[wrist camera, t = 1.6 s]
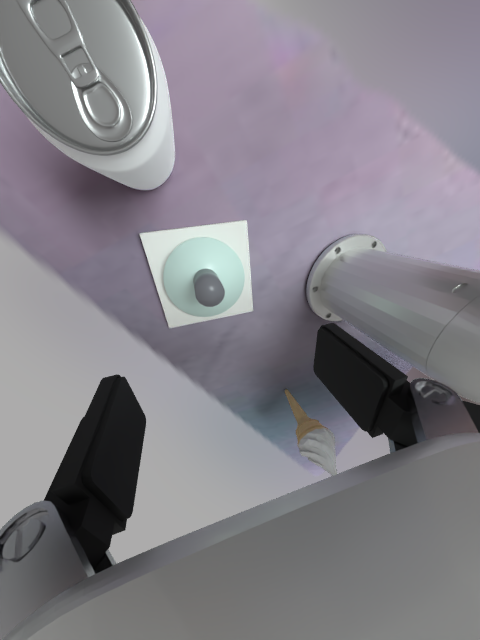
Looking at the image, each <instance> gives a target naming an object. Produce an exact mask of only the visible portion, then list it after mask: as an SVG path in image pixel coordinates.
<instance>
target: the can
mask: <svg viewBox="0 0 480 640" xmlns="http://www.w3.org/2000/svg"><path fill="white" fill-rule="evenodd" d="M0 83H1V84H2V86H3V87H4V89H5V90H6V91H7V93H8V94H9V96H10V97H11V98H12V99H13V101H14V102H15V103H16V104H17V105H18V107H19V108H20V109H21V110H22V111H23V112H24V113H25V115H26V116H27V117H28V119H29V120H30V121H31V123H32V124H33V125H34V126H35V127H36V128H37V130H38V131H39V132H40V133H41V134H42V135H43V136H44V137H45V138H46V139H47V140H48V141H49V142H51V143H52V144H53V145H54V146H55V147H57V148H58V149H59V150H60V151H62V152H63V153H64V154H66V155H67V156H69V157H70V158H72V159H73V160H75V161H77V162H79V163H80V164H82V165H84V166H86V167H88V168H90V169H92V170H94V171H96V172H98V173H100V174H102V175H104V176H106V177H109V178H111V179H113V180H115V181H117V182H119V183H121V184H124V185H126V186H128V187H131V188H134V189H138V190H152V189H155V188H157V187H159V186H160V185H162V184H163V183H164V182H165V181H166V180H167V179H168V178H169V176H170V174H171V172H172V170H173V166H174V161H175V145H174V134H173V124H172V114H171V105H170V97H169V91H168V85H167V80H166V76H165V72H164V68H163V65H162V62H161V59H160V56H159V54H158V51H157V48H156V46H155V44H154V42H153V40H152V37H151V36H150V34H149V32H148V30H147V28H146V26H145V25H144V23H143V21H142V20H141V18H140V17H139V15H138V13H137V11H136V9H135V7H134V5H133V4H132V2H131V0H0Z"/></svg>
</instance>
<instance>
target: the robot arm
mask: <svg viewBox="0 0 480 640" xmlns="http://www.w3.org/2000/svg"><path fill="white" fill-rule="evenodd" d="M306 293H307V300H308V304H309V306H310V307H311V309H312V310H313V311H314V312H315V314H317V315H318V316H320V317H321V318H323V319H325V320H328V321H341V320H344V321H346V322H347V323H349V324H350V325H352V326H353V327H355V328H356V329H358V330H359V331H361V332H362V333H364V334H365V335H367V336H368V337H370V338H371V339H373V340H374V341H376V342H377V343H379V344H380V345H382V346H383V347H385V348H386V349H388V350H389V351H391V352H392V353H394V354H395V355H397V356H398V357H400V358H401V359H403V360H404V361H406V362H407V363H409V364H410V365H412V366H413V367H415V368H417V369H418V370H419V371H421V372H423V373H424V374H425V375H427V376H428V377H430V378H432V379H434V380H431V379H426V378H418V379H414V380H413V381H412V382H411V383H409V382H408V381H407V377H408V376H406V375H405V374H404V373H402V372H401V371H399V370H398V369H397V368H395V367H394V366H393V365H391V364H390V363H388V362H387V361H386V360H384V359H383V358H381V357H380V356H379V355H377V354H376V353H374V352H373V351H372V350H370V349H369V348H368V347H366V346H365V345H363V344H362V343H361V342H359V341H358V340H356V339H355V338H354V337H352V336H351V335H349V334H348V333H347V332H345V331H344V330H343V329H341V328H340V327H338V326H337V325H336V324H334V323H330V324H326V325H322V326H321V327H320V329H319V330H318V334H317V342H316V351H315V359H314V372H315V374H316V375H317V377H318V378H319V379H320V380H321V381H322V383H323V384H324V385H325V386H326V387H327V389H328V390H329V391H330V392H331V393H332V394H333V396H334V397H335V398H336V399H337V400H338V402H339V403H340V404H341V405H342V406H343V408H344V409H345V410H346V411H347V412H348V413H349V415H350V416H351V417H352V418H353V419H354V421H355V422H356V423H357V424H358V425H359V427H360V428H361V429H362V430H364V431H367V432H368V433H369V435H370V436H371V437H372V438H373V437H376V436H378V435H381V434H383V433H384V434H385V435H386V436H387V437H388V440H389V446H390V454H387V455H385V456H382V457H380V458H377V459H375V460H372V461H369V462H367V463H365V464H362V465H359V466H357V467H354V468H352V469H349V470H346V471H344V472H341V473H339V474H336V475H334V476H331V477H329V478H326V479H324V480H321V481H319V482H316V483H314V484H311V485H308V486H306V487H304V488H301V489H298V490H296V491H293V492H291V493H288V494H286V495H283V496H281V497H279V498H276V499H273V500H271V501H268V502H266V503H263V504H261V505H258V506H256V507H253V508H251V509H249V510H246V511H244V512H241V513H238V514H236V515H233V516H231V517H229V518H226V519H223V520H221V521H219V522H216V523H214V524H211V525H209V526H206V527H204V528H201V529H199V530H196V531H194V532H192V533H189V534H187V535H184V536H182V537H179V538H176V539H174V540H172V541H169V542H167V543H165V544H163V545H160V546H158V547H155V548H153V549H150V550H148V551H146V552H143V553H141V554H139V555H136V556H134V557H132V558H129V559H127V560H125V561H122V562H120V563H118V564H116V562H115V560H114V559H113V557H112V555H111V554H110V552H109V550H108V548H109V547H110V542H111V538H112V535H114V534H116V533H119V532H121V531H124V530H125V528H126V521H127V519H128V518H130V517H131V514H132V512H133V506H134V499H135V493H136V486H137V479H138V472H139V466H140V460H141V453H142V446H143V439H144V433H145V427H146V418H145V415H144V413H143V411H142V409H141V407H140V405H139V403H138V401H137V399H136V397H135V395H134V393H133V391H132V389H131V387H130V386H129V384H128V382H127V380H126V378H125V377H121V376H120V375H114V376H109V377H105V378H103V379H102V380H101V382H100V384H99V386H98V388H97V391H96V393H95V395H94V397H93V400H92V402H91V404H90V406H89V408H88V411H87V413H86V415H85V417H83V419H82V420H81V422H80V424H79V426H78V428H77V430H76V432H75V435H74V437H73V439H72V441H71V443H70V445H69V447H68V450H67V452H66V454H65V456H64V458H63V460H62V463H61V465H60V467H59V469H58V471H57V473H56V475H55V477H54V480H53V482H52V484H51V486H50V488H49V491H48V493H47V495H46V497H45V499H44V501H40V502H36V503H34V504H32V505H30V506H28V507H26V508H24V509H23V510H22V511H20V512H19V513H17V514H16V515H15V516H14V517H13V518H12V519H10V520H9V521H8V522H7V523H6V524H5V525H4V526H3V527H2V529H1V530H0V640H480V405H476V404H473V403H469V402H465V401H462V400H461V398H460V397H459V396H458V395H460V396H462V397H464V398H467V399H469V400H472V401H475V402H477V403H480V271H479V270H474V269H469V268H464V267H459V266H454V265H449V264H444V263H439V262H434V261H428V260H423V259H418V258H413V257H408V256H403V255H398V254H393V253H388V252H386V249H385V247H384V245H383V244H382V243H381V242H380V241H379V240H378V239H377V238H375V237H373V236H369V235H364V234H354V235H348V236H346V237H343V238H341V239H339V240H337V241H336V242H334V243H333V244H331V245H330V246H329V247H328V248H327V249H325V251H324V252H323V253H322V254H321V255H320V256H319V258H318V259H317V261H316V262H315V264H314V265H313V268H312V270H311V272H310V274H309V278H308V281H307V289H306Z"/></svg>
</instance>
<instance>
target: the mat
mask: <svg viewBox="0 0 480 640" xmlns="http://www.w3.org/2000/svg"><path fill="white" fill-rule="evenodd" d="M140 237H141V240H142V243H143V246H144V250H145V253H146V256H147V259H148V262H149V265H150V269H151V272H152V275H153V278H154V281H155V284H156V288H157V291H158V294H159V297H160V300H161V303H162V307H163V310H164V313H165V316H166V319H167V322H168V326H169V328H174V327H179V326H183V325H188V324H193V323H198V322H203V321H208V320H213V319H217V318H222V317H227V316H232V315H237V314H242V313H247V312H251V311H253V302H252V288H251V273H250V259H249V245H248V231H247V220H242V221H234V222H226V223H217V224H209V225H201V226H193V227H185V228H177V229H169V230H160V231H152V232H144V233H140ZM196 237H210V238H214V239H217V240H219V241H221V242H223V243H225V244H226V245H228V246H229V247H230V248H231V249H232V250H234V252H235V253H236V254H237V255H238V257H239V258H240V260H241V262H242V265H243V268H244V274H245V281H244V287H243V290H242V293H241V295H240V297H239V299H238V300H237V301H236V303H235V304H234V305H233V306H232V307H231V308H229V309H228V310H226V311H225V312H223V313H221V314H218V315H215V316H210V317H198V316H193V315H190V314H188V313H186V312H184V311H182V310H181V309H179V308H178V307H177V306H176V305H175V304H174V303H173V302H172V301H171V300H170V298H169V296H168V295H167V293H166V290H165V287H164V281H163V273H164V268H165V264H166V261H167V259H168V257H169V255H170V254H171V252H172V251H173V250H174V249H175V248H176V247H177V246H178V245H180V244H181V243H183V242H184V241H186V240H189V239H192V238H196Z"/></svg>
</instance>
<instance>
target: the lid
mask: <svg viewBox="0 0 480 640" xmlns="http://www.w3.org/2000/svg"><path fill="white" fill-rule="evenodd" d="M163 281H164V287H165V290H166V293H167V295H168V296H169V298H170V300H171V301H172V302H173V303H174V304H175V305H176V306H177V307H178V308H179V309H181V310H182V311H184V312H186V313H188V314H190V315H193V316H198V317H210V316H215V315H218V314H221V313H223V312H225V311H226V310H228V309H229V308H231V307H232V306H233V305H234V304H235V303H236V301H237V300H238V299H239V297H240V295H241V293H242V290H243V287H244V281H245V274H244V268H243V265H242V262H241V260H240V258H239V257H238V255H237V254H236V253H235V252H234V250H232V249H231V248H230V247H229V246H228V245H226V244H225V243H223V242H221V241H219V240H217V239H214V238H210V237H196V238H192V239H189V240H186V241H184V242H183V243H181V244H180V245H178V246H177V247H176V248H175V249H174V250H173V251H172V252H171V254H170V255H169V257H168V259H167V261H166V264H165V268H164V273H163Z"/></svg>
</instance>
